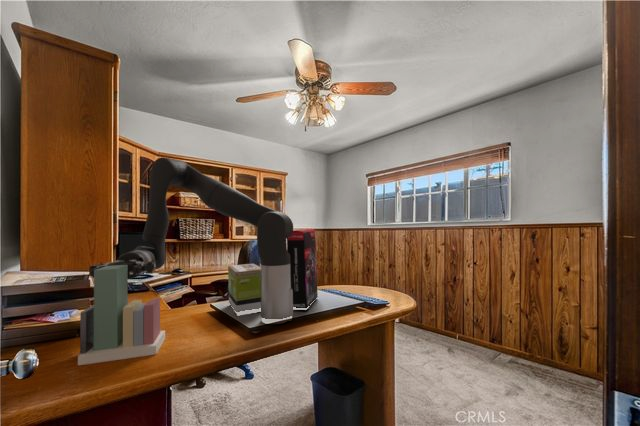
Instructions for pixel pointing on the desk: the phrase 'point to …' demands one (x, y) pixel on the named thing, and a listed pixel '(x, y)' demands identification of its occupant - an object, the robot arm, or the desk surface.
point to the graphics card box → (303, 267)
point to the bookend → (86, 330)
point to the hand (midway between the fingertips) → (114, 272)
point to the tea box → (244, 287)
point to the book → (109, 305)
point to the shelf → (121, 352)
